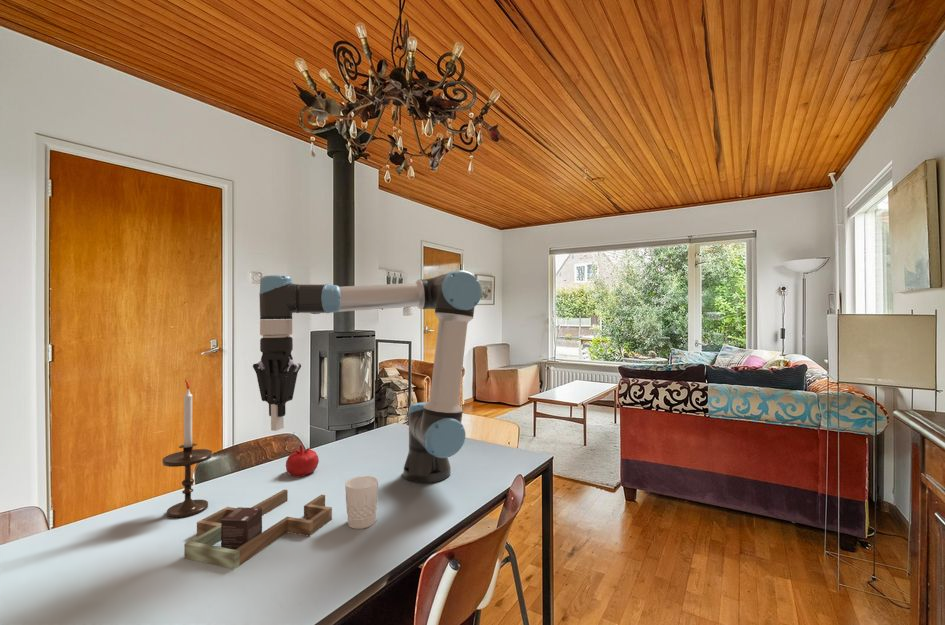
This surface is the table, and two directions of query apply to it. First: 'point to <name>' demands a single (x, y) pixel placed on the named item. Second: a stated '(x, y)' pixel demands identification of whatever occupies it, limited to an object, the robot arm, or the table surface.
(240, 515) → the box
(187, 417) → the candlestick
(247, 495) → the table surface
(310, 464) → the pomegranate
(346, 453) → the table surface
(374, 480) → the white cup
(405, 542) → the table surface
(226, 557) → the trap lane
